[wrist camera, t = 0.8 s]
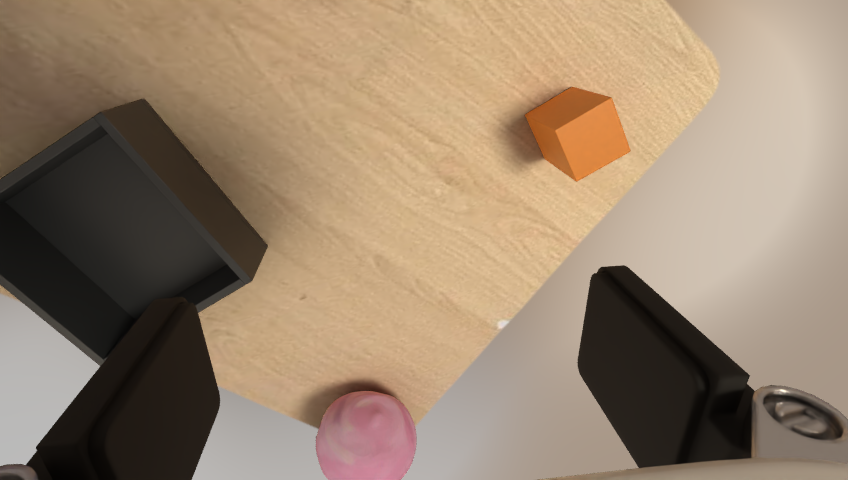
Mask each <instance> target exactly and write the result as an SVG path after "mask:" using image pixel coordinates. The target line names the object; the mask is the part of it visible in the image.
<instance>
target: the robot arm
mask: <svg viewBox="0 0 848 480" xmlns="http://www.w3.org/2000/svg"><path fill="white" fill-rule="evenodd" d="M578 369H579V373H580V375H581V377H582V378H583V380H584V382H585V383H586V385H587V386H588V388H589V389H590V391H591V392H592V394H593V396H594V397H595V399H596V401H597V402H598V404H599V405H600V407H601V408H602V410H603V412H604V413H605V415H606V416H607V418H608V420H609V421H610V423H611V424H612V426H613V427H614V429H615V431H616V432H617V434H618V435H619V437H620V438H621V440H622V442H623V443H624V445H625V446H626V448H627V450H628V451H629V453H630V454H631V456H632V458H633V459H634V461H635V462H636V464H637V466H638V467H639V468H636V469H627V470H618V471H609V472H601V473H592V474H583V475H574V476H566V477H556V478H548V479H539V480H848V419H847V418H846V417H845V416H844V415H843V414H842V413H841V412H840V411H838V410H837V409H836V408H834V407H833V406H832V405H830V404H829V403H827V402H825V401H823V400H822V399H820V398H818V397H816V396H814V395H812V394H809V393H806V392H804V391H801V390H798V389H794V388H790V387H786V386H774V385H770V386H765V387H761V388H759V389H758V390H756V391H754V390H753V389H752V388H751V387H750V386H749V385H747V382H748V379H749V376H750V375H749V374H748V373H746V372H745V371H744V370H743V369H742V368H741V367H740V366H739V365H737V364H736V363H735V362H734V361H733V360H732V359H731V358H730V357H728V356H727V355H726V354H725V353H724V352H723V351H722V350H721V349H719V348H718V347H717V346H716V345H715V344H714V343H712V342H711V341H710V340H709V339H708V338H707V337H706V336H705V335H703V334H702V333H701V332H700V331H699V330H698V329H697V328H696V327H695V326H693V325H692V324H691V323H690V322H689V321H688V320H687V319H686V318H684V317H683V316H682V315H681V314H680V313H679V312H678V311H676V310H675V309H674V308H673V307H672V306H671V305H670V304H669V303H668V302H666V301H665V300H664V299H663V298H662V297H661V296H659V294H657V293H656V292H655V291H654V290H653V289H652V288H651V287H649V286H648V285H647V284H646V283H645V282H644V281H643V280H642V279H640V278H639V277H638V276H637V275H636V274H635V273H634V272H633V271H631V270H630V269H629V268H628V267H626V266H609V267H601V268H600V269H599V270H598V272H597V273H594V274H593V275H592V277H591V280H590V287H589V293H588V299H587V305H586V312H585V318H584V324H583V330H582V337H581V343H580V349H579V356H578ZM219 406H220V395H219V390H218V387H217V383H216V379H215V375H214V372H213V368H212V364H211V360H210V357H209V353H208V349H207V345H206V342H205V338H204V334H203V330H202V327H201V323H200V319H199V315H198V312H197V308H196V306H195V304H194V303H188V302H187V300H186V299H185V298H183V297H178V298H164V299H155V300H154V301H152V303H151V304H150V305H149V306H148V308H147V309H146V310H145V311H144V313H143V314H142V315H141V316H140V318H139V319H138V320H137V321H136V323H135V324H134V325H133V326H132V328H131V329H130V330H129V331H128V333H127V334H126V335H125V336H124V338H123V339H122V340H121V341H120V343H119V344H118V345H117V346H116V348H115V349H114V350H113V351H112V353H111V354H110V355H109V356H108V358H107V359H106V360H105V361H104V363H103V364H102V365H101V366H100V368H99V369H98V370H97V371H96V373H95V374H94V375H93V376H92V378H91V379H90V380H89V381H88V383H87V384H86V385H85V386H84V388H83V389H82V390H81V391H80V393H79V394H78V395H77V396H76V398H75V399H74V400H73V402H72V403H71V404H70V405H69V406H68V408H67V409H66V410H65V411H64V413H63V414H62V415H61V416H60V418H59V419H58V420H57V422H56V423H55V424H54V425H53V426H52V428H51V429H50V430H49V432H48V433H47V434H46V435H45V436H44V438H43V439H42V440H41V441H40V443H39V444H38V445H37V447H36V449H37V452H36V453H35V454H34V455H33V457H32V458H31V459H30V461H29V462H28V463H27V464H26V465H23V464H11V465H10V464H9V465H3V466H0V480H192V477H193V475H194V472H195V470H196V467H197V464H198V462H199V459H200V457H201V454H202V451H203V448H204V446H205V444H206V441H207V439H208V436H209V434H210V431H211V428H212V426H213V423H214V421H215V418H216V415H217V413H218V410H219Z"/></svg>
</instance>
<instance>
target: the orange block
mask: <svg viewBox="0 0 848 480" xmlns="http://www.w3.org/2000/svg"><path fill="white" fill-rule="evenodd" d="M525 116H526V119H527V121H528V123H529V125H530V127H531V130H532V132H533V134H534V136H535V139H536V141H537V143H538V145H539V147H540V150H541V152H542V154H543V156H544V158H545V159H546V160H547V161H549V162H550V163H551V164H553V165H554V166H555V167H557V168H558V169H560V170H561V171H562V172H564V173H565V174H567V175H568V176H569V177H571V178H572V179H574V180H575V181H579V180H580V179H582V178H584V177H586V176H588V175H589V174H591V173H593V172H595V171H596V170H598V169H600V168H602V167H604V166H605V165H607V164H609V163H611V162H613V161H614V160H616V159H618V158H620V157H621V156H623V155H625V154H627V153H629V152H630V148H629V145H628V142H627V139H626V136H625V134H624V131H623V128H622V125H621V122H620V119H619V117H618V114H617V111H616V108H615V105H614V103H613V100H612V98H611V97H608V96H604V95H601V94H597V93H593V92H590V91H586V90H582V89H579V88H575V87H571V88H569V89H568V90H566V91H564V92H562V93H561V94H559V95H557V96H556V97H554V98H552V99H551V100H549V101H547V102H546V103H544V104H542V105H540V106H539V107H537V108H535V109H534V110H532V111H530V112H529V113H527V114H525Z"/></svg>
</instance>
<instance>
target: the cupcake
mask: <svg viewBox="0 0 848 480" xmlns="http://www.w3.org/2000/svg"><path fill="white" fill-rule="evenodd" d="M415 450H416V429H415V425H414V422H413V419H412V417H411V415H410V413H409V411H408V410H407V408H406V407H405V406H404V404H402V403H401V402H400V401H399V400H397V399H396V398H394V397H393V396H390V395H387V394H382V393H378V392H374V391H358V392H352V393H348V394H346V395H343V396H342V397H340V398H338V399H337V400H335V401H334V402H333V403H332V404H331V405H330V406H329V408H328V409H327V410H326V412H325V414H324V416H323V418H322V421H321V424H320V427H319V430H318V434H317V436H316V451H317V457H318V460H319V463H320V466H321V469H322V471H323V473H324V475H325V476H326V478H328V480H401V479H402V478H403V477H404V475H405V474H406V473H407V471H408V469H409V468H410V466H411V464H412V461H413V458H414V454H415Z"/></svg>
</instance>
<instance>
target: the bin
mask: <svg viewBox="0 0 848 480" xmlns="http://www.w3.org/2000/svg"><path fill="white" fill-rule="evenodd" d="M267 247H268V245H267V244H266V243H265V242H264V241H263V239H262V238H261V237H260V236H259V235H258V233H257V232H256V231H255V230H254V229H253V227H252V226H251V225H250V224H249V223H248V221H247V220H246V219H245V218H244V217H243V216H242V214H241V213H240V212H239V211H238V210H237V208H236V207H235V206H234V205H233V204H232V202H231V201H230V200H229V199H228V198H227V196H226V195H225V194H224V193H223V192H222V191H221V189H220V188H219V187H218V186H217V185H216V183H215V182H214V181H213V180H212V179H211V177H210V176H209V175H208V174H207V173H206V171H205V170H204V169H203V168H202V167H201V166H200V164H199V163H198V162H197V161H196V160H195V158H194V157H193V156H192V155H191V154H190V152H189V151H188V150H187V149H186V148H185V146H184V145H183V144H182V143H181V142H180V141H179V139H178V138H177V137H176V136H175V135H174V133H173V132H172V131H171V130H170V129H169V127H168V126H167V125H166V124H165V123H164V121H163V120H162V119H161V118H160V117H159V116H158V114H157V113H156V112H155V111H154V110H153V108H152V107H151V106H150V105H149V104H148V102H147V101H146V100H145V99H141V100H138V101H134V102H131V103H128V104H125V105H121V106H118V107H115V108H112V109H108V110H105V111H102V112H100V113H98V114H97V115H95V116H94V117H92V118H91V119H89V120H88V121H86V122H85V123H83V124H82V125H80V126H79V127H77V128H76V129H74V130H73V131H71V132H70V133H68V134H67V135H65V136H64V137H62V138H61V139H59V140H58V141H56V142H55V143H53V144H52V145H50V146H49V147H48V148H46V149H45V150H43V151H42V152H40V153H39V154H37V155H36V156H34V157H33V158H31V159H30V160H28V161H27V162H25V163H24V164H22V165H21V166H19V167H18V168H16V169H15V170H13V171H12V172H10V173H9V174H7V175H6V176H4V177H3V178H1V179H0V285H1V286H3V287H4V288H5V289H6V290H8V291H9V292H10V293H11V294H12V295H14V296H15V297H16V298H17V299H19V300H20V301H21V302H22V303H24V304H25V305H26V306H27V307H29V308H30V309H31V310H32V311H33V312H35V313H36V314H37V315H38V316H39V317H41V318H42V319H43V320H44V321H46V322H47V323H48V324H49V325H51V326H52V327H53V328H54V329H56V330H57V331H58V332H59V333H60V334H62V335H63V336H64V337H65V338H66V339H68V340H69V341H70V342H71V343H73V344H74V345H75V346H76V347H78V348H79V349H80V350H81V351H82V352H84V353H85V354H86V355H87V356H89V357H90V358H91V359H92V360H93V361H95V362H96V363H97V364H98V365H100V366H101V365H102V364H103V363H104V361H105V360H106V359H107V358H108V356H109V355H110V354H111V353H112V351H113V350H114V349H115V348H116V346H117V345H118V344H119V343H120V341H121V340H122V339H123V338H124V336H125V335H126V334H127V333H128V331H129V330H130V329H131V328H132V326H133V325H134V324H135V323H136V321H137V320H138V319H139V318H140V316H141V315H142V314H143V313H144V311H145V310H146V309H147V308H148V306H149V305H150V304H151V303H152V301H154V300H155V299H164V298H178V297H183V298H185V299H186V300H187V302H188V303H194V304H195V306H196V308H197V312H200V311H202V310H204V309H205V308H207V307H209V306H210V305H212V304H214V303H216V302H217V301H219V300H221V299H222V298H224V297H226V296H227V295H229V294H231V293H233V292H234V291H236V290H238V289H239V288H241V287H243V286H244V285H245V284H248V283H249V282H251V281H252V280H253V278H254V276H255V274H256V271H257V269H258V267H259V265H260V263H261V260H262V258H263V256H264V254H265V252H266V249H267Z"/></svg>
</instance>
